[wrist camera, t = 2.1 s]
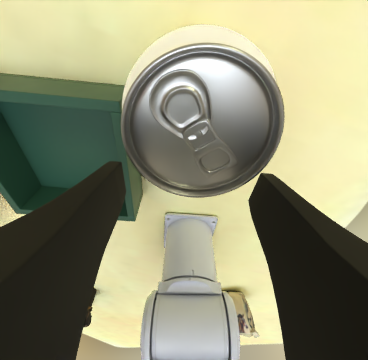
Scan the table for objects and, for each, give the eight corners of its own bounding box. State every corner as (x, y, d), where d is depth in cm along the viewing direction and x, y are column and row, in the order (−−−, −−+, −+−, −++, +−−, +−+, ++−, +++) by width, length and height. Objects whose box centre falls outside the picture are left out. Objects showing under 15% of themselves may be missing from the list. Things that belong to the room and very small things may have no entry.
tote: (142, 194, 25) (135, 221, 21) (41, 187, 24) (16, 213, 21) (134, 86, 16) (119, 101, 13) (-24, 70, 16) (-87, 81, 12)
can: (208, 6, 13) (262, -66, 4) (242, 89, 16) (315, 165, 7) (140, 64, 15) (64, 114, 6) (182, 126, 18) (177, 221, 9)
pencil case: (175, 304, 53) (173, 349, 46) (163, 294, 48) (159, 342, 41) (250, 295, 48) (262, 344, 41) (245, 283, 43) (258, 337, 36)
